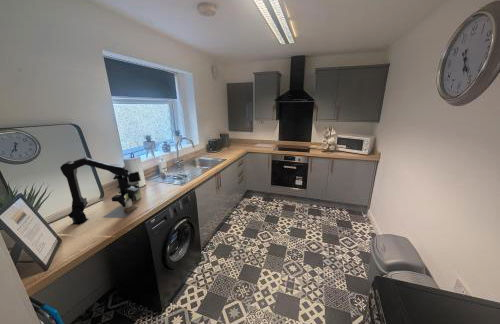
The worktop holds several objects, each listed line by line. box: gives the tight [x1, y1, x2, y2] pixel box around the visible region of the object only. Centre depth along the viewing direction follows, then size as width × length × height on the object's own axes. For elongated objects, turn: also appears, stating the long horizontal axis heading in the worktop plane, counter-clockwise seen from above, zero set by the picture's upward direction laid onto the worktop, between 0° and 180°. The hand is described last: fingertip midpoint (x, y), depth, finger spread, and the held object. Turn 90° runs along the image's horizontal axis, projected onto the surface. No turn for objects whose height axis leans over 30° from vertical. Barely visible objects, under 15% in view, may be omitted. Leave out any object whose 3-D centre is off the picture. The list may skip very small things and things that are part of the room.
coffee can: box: [125, 180, 142, 203], centre depth 147 cm, size 10×10×14 cm
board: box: [102, 206, 139, 219], centre depth 131 cm, size 16×14×1 cm
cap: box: [125, 198, 133, 208], centre depth 131 cm, size 4×4×6 cm
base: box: [122, 203, 137, 212], centre depth 133 cm, size 7×7×2 cm
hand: (128, 204), depth 132 cm, fingers open, 7 cm apart
